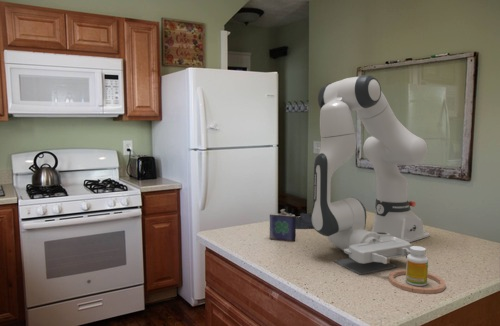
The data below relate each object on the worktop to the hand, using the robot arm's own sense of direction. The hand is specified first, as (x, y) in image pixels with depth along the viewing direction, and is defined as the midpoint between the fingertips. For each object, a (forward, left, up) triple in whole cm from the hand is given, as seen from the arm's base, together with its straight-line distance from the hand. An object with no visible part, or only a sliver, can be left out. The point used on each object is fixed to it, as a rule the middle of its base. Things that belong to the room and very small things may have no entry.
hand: (400, 258), depth 115 cm
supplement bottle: (0, +6, -5) cm, 8 cm away
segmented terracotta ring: (0, +6, -5) cm, 8 cm away
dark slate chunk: (-8, -61, -6) cm, 62 cm away
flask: (+12, -45, -5) cm, 47 cm away
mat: (+3, -11, -5) cm, 13 cm away
